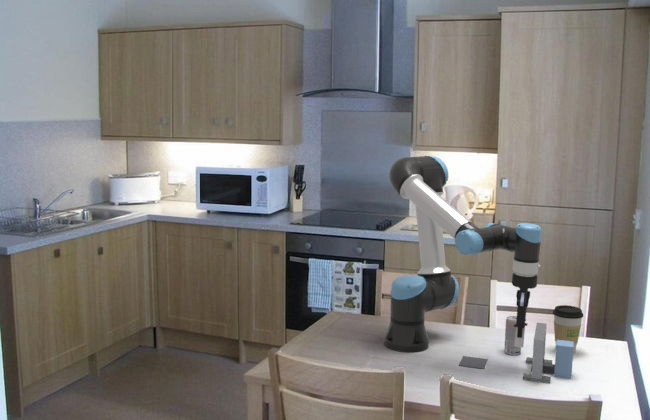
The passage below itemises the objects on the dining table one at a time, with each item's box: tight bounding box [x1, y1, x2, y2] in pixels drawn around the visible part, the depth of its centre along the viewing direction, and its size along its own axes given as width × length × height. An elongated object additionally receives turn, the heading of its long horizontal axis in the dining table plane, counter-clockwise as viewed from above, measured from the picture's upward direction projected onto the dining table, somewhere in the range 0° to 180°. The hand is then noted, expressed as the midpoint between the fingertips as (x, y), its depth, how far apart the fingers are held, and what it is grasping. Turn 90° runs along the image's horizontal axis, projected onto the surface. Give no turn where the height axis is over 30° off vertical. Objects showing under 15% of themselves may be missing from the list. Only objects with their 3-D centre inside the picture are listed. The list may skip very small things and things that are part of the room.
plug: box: [530, 340, 574, 380], centre depth 222 cm, size 12×6×10 cm, turn 70°
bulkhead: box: [522, 322, 553, 384], centre depth 223 cm, size 8×18×13 cm, turn 161°
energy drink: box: [504, 315, 522, 356], centre depth 240 cm, size 5×5×12 cm
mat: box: [458, 355, 489, 370], centre depth 231 cm, size 8×9×1 cm
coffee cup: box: [552, 304, 584, 355], centre depth 241 cm, size 10×10×15 cm
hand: (518, 346), depth 226 cm, fingers closed
